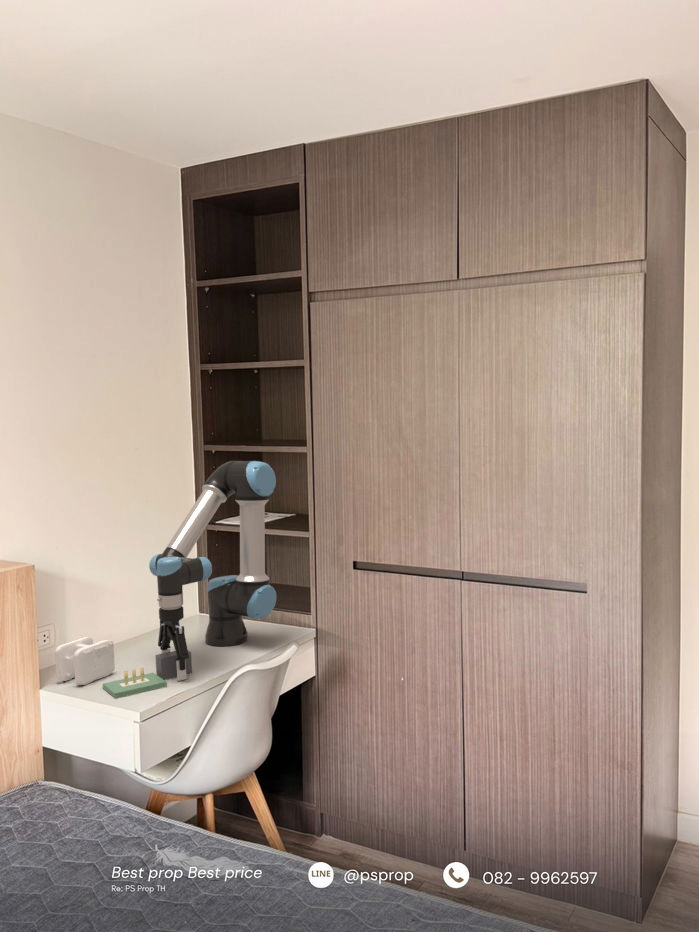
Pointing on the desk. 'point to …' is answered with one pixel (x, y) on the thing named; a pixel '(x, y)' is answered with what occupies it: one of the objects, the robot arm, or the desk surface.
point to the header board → (134, 684)
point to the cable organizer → (84, 660)
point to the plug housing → (170, 665)
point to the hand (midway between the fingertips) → (174, 674)
